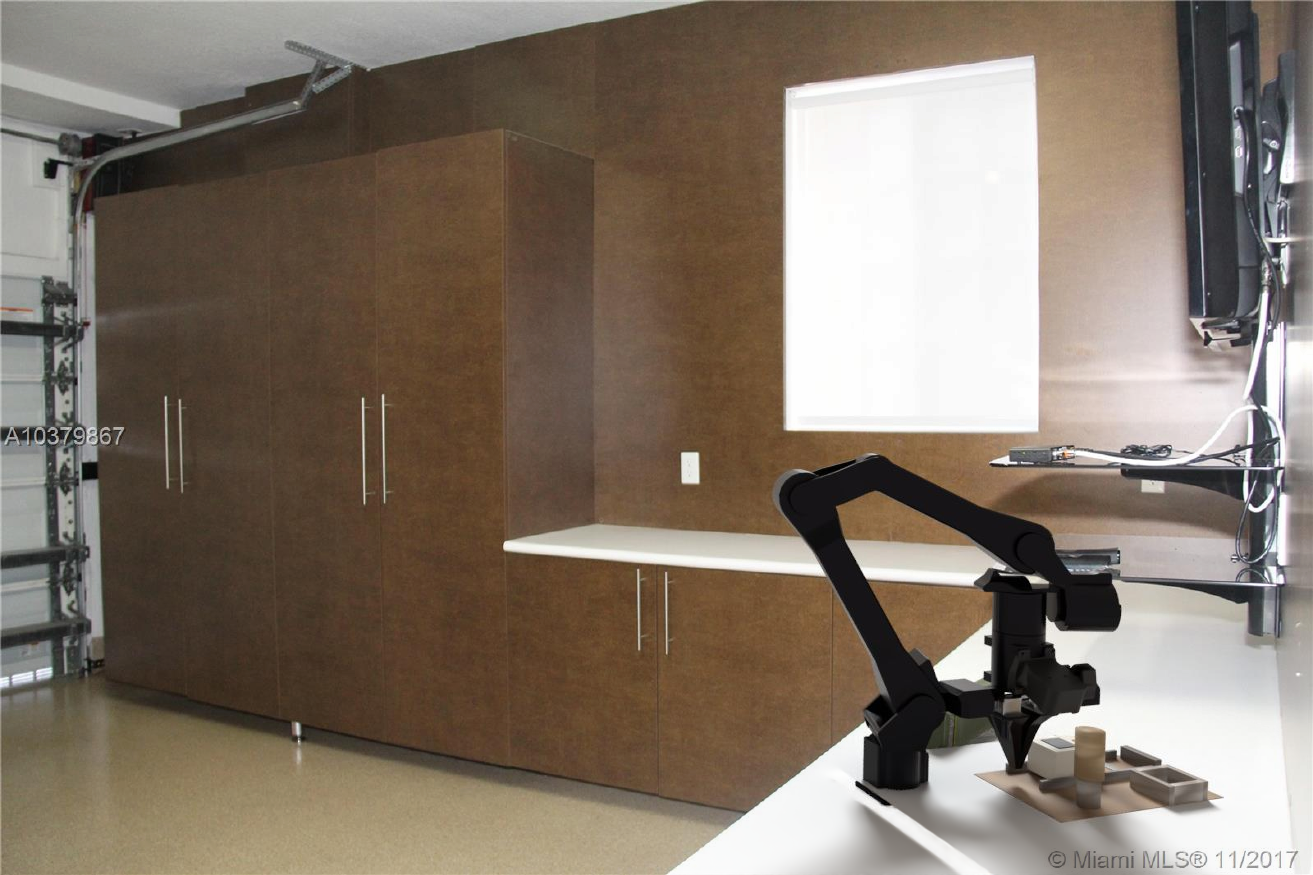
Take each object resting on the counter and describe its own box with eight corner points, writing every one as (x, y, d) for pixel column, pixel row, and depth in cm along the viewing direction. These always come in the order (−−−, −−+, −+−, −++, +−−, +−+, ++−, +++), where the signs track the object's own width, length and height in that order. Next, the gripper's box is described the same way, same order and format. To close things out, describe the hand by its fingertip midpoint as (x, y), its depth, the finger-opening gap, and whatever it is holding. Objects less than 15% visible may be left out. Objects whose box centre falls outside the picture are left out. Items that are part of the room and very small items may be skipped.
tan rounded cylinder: (1087, 812, 104) (1089, 736, 104) (1066, 801, 107) (1068, 727, 106) (1110, 808, 105) (1112, 733, 105) (1089, 798, 108) (1091, 725, 107)
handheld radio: (919, 755, 126) (995, 710, 145) (944, 762, 124) (1017, 716, 143) (922, 703, 125) (998, 665, 144) (947, 709, 123) (1020, 670, 142)
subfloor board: (1060, 836, 101) (1061, 802, 101) (973, 786, 114) (974, 756, 114) (1223, 810, 109) (1224, 779, 109) (1123, 766, 122) (1124, 738, 122)
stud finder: (1055, 783, 111) (1056, 751, 111) (1027, 768, 115) (1028, 738, 115) (1098, 777, 113) (1098, 745, 113) (1068, 763, 117) (1069, 733, 117)
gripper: (996, 653, 101) (993, 805, 101) (1140, 641, 107) (1136, 784, 107) (931, 630, 111) (928, 768, 112) (1066, 620, 118) (1062, 751, 118)
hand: (1015, 768), depth 112 cm, fingers closed
